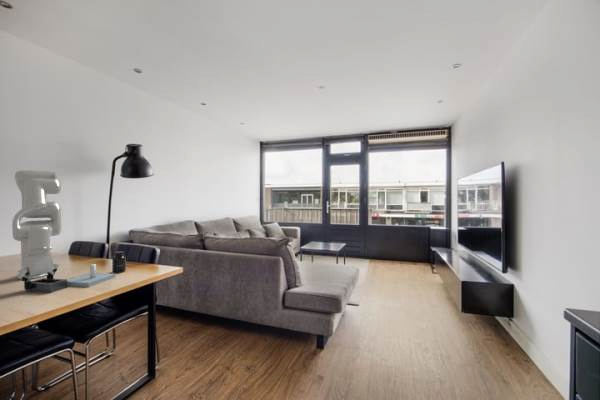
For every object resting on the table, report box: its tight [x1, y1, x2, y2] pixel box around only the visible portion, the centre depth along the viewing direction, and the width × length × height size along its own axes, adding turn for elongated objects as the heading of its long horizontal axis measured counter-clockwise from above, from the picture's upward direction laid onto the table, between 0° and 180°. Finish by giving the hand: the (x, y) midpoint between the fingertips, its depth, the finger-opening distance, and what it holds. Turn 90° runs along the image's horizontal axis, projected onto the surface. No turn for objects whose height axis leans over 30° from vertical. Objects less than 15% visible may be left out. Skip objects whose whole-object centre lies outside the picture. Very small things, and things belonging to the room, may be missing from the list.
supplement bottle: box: [111, 251, 127, 274], centre depth 160 cm, size 7×7×12 cm
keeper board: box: [67, 263, 117, 288], centre depth 142 cm, size 16×16×9 cm
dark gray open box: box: [25, 277, 68, 294], centre depth 130 cm, size 14×8×4 cm, turn 81°
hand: (39, 286), depth 130 cm, fingers open, 9 cm apart
